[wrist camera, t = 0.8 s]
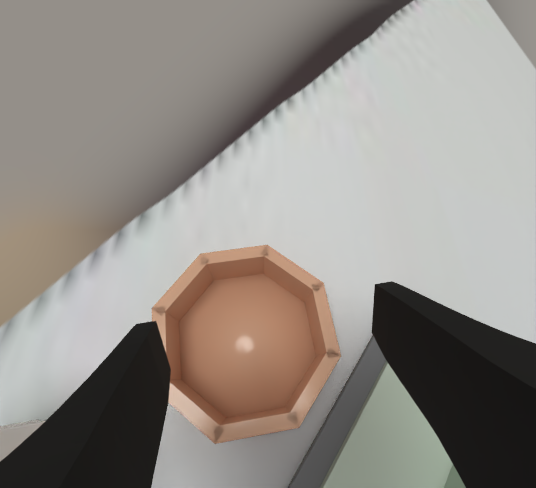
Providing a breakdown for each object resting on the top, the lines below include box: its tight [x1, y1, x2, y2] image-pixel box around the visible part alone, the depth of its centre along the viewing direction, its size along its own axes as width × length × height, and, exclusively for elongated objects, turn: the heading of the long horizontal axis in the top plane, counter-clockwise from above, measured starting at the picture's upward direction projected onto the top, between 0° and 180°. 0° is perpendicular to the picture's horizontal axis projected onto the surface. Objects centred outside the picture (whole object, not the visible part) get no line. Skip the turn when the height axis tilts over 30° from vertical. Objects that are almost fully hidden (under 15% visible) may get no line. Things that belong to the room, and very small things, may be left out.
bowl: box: [152, 245, 341, 444], centre depth 21 cm, size 11×11×4 cm
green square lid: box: [320, 361, 466, 488], centre depth 17 cm, size 14×14×5 cm
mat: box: [288, 336, 386, 488], centre depth 20 cm, size 17×17×1 cm
